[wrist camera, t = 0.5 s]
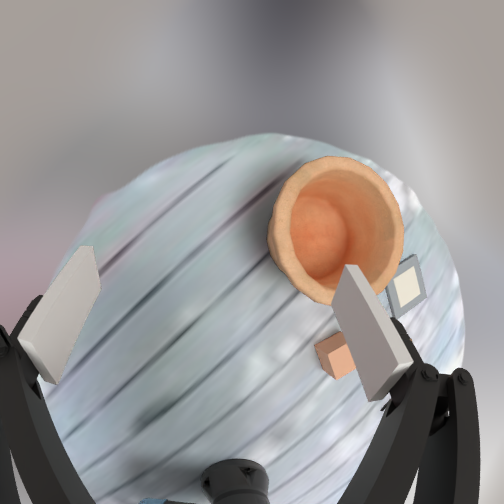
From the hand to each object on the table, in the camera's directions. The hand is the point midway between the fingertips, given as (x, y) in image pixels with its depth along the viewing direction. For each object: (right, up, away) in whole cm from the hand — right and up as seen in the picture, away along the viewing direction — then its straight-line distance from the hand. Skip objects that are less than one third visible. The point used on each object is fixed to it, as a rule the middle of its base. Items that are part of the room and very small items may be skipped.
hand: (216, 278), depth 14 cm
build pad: (+36, -6, +42) cm, 56 cm away
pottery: (+12, +4, +38) cm, 40 cm away
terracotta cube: (+18, -18, +38) cm, 46 cm away
